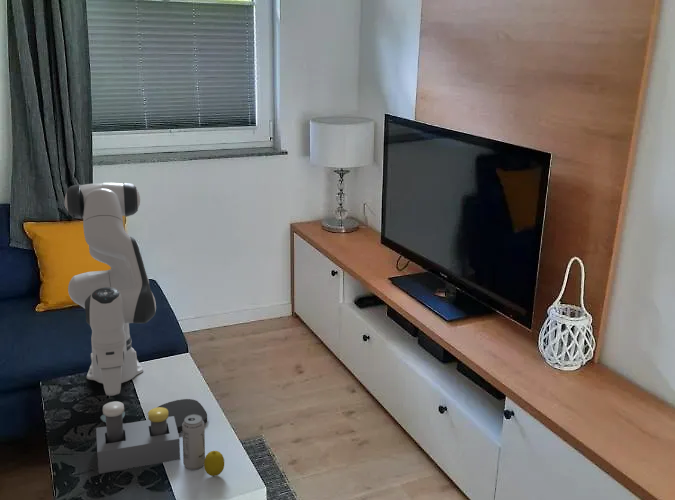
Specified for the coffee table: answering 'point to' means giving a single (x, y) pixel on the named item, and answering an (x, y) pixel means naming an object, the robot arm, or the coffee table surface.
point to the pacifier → (105, 417)
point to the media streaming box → (184, 410)
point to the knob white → (114, 421)
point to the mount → (137, 446)
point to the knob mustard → (158, 421)
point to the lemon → (214, 463)
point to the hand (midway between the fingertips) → (112, 392)
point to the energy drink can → (193, 442)
